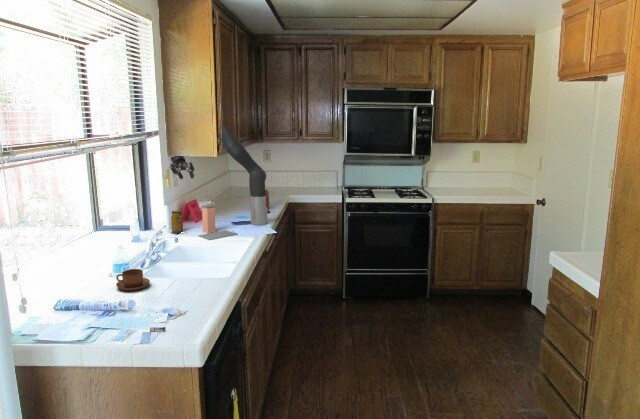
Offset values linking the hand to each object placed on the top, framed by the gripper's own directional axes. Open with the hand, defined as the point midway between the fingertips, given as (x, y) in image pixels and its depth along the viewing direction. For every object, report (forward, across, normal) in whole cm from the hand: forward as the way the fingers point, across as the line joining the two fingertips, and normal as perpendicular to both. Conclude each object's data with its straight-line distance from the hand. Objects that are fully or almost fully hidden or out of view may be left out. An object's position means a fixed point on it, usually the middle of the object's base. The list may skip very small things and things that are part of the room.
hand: (187, 177), depth 279 cm
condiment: (+27, -13, +14) cm, 33 cm away
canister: (+11, +64, +29) cm, 71 cm away
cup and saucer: (+73, -70, -32) cm, 106 cm away
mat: (+42, -1, -1) cm, 42 cm away
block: (+34, 0, +6) cm, 35 cm away
